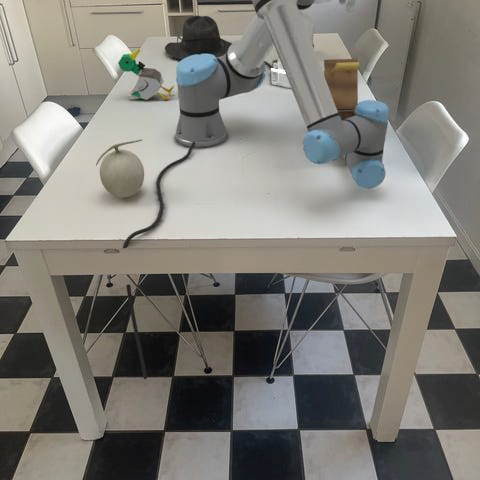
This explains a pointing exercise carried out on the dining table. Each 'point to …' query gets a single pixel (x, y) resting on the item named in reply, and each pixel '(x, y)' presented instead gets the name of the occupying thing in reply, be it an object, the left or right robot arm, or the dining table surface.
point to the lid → (342, 81)
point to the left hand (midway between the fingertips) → (337, 116)
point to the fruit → (121, 171)
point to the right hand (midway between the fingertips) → (345, 7)
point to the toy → (143, 77)
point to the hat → (198, 39)
